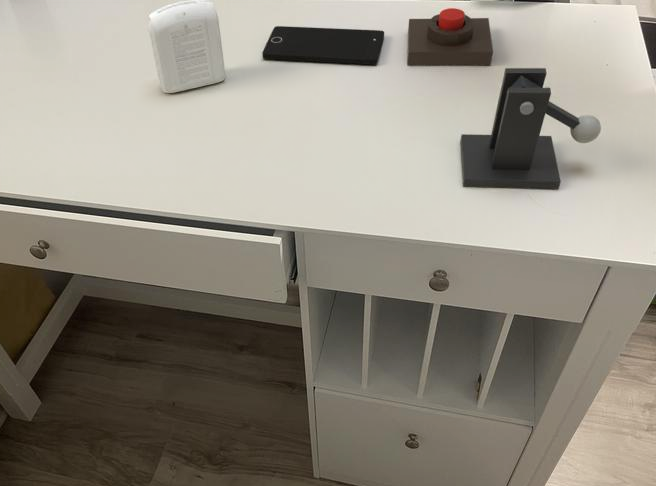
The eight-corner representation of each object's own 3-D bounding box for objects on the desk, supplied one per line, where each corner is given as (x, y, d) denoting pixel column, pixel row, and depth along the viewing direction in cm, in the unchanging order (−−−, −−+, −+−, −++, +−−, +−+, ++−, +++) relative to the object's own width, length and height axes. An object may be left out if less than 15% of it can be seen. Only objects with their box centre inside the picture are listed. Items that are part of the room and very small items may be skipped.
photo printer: (222, 68, 104) (211, -11, 95) (229, 82, 101) (218, 2, 92) (158, 83, 103) (140, 5, 93) (163, 98, 100) (146, 18, 91)
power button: (462, 19, 100) (464, 7, 99) (463, 31, 98) (465, 19, 96) (438, 19, 100) (439, 8, 99) (438, 31, 98) (439, 20, 97)
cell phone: (274, 31, 110) (274, 25, 109) (384, 35, 106) (385, 30, 105) (261, 59, 104) (261, 53, 104) (376, 65, 100) (377, 59, 99)
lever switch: (583, 136, 80) (604, 117, 78) (587, 153, 78) (609, 133, 76) (503, 91, 77) (523, 69, 75) (505, 107, 75) (526, 85, 73)
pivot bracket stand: (549, 143, 85) (574, 58, 76) (558, 189, 79) (586, 103, 70) (460, 141, 87) (474, 58, 78) (462, 186, 81) (478, 102, 72)
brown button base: (486, 31, 104) (490, 6, 101) (490, 65, 98) (495, 40, 95) (407, 31, 106) (410, 7, 103) (407, 65, 100) (409, 40, 97)
